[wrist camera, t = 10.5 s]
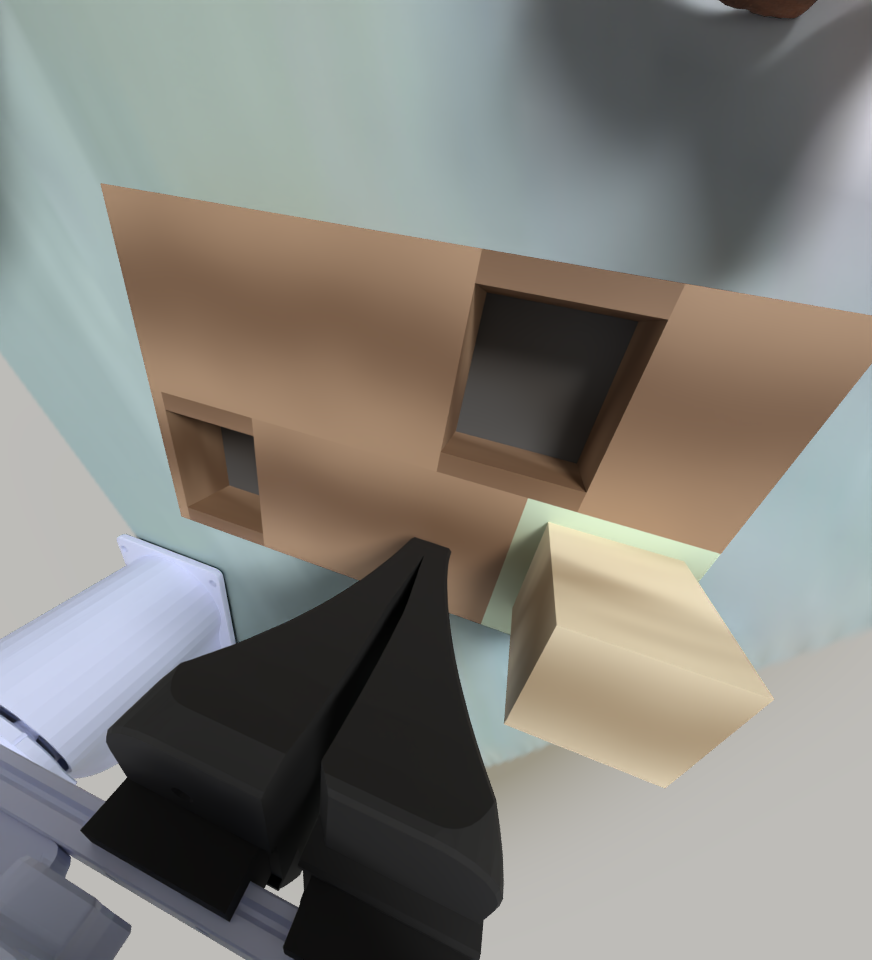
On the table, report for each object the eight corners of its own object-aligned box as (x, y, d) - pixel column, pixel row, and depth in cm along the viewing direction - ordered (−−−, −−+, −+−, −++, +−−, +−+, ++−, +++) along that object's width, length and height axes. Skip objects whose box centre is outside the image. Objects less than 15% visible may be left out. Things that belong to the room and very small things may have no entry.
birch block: (624, 646, 11) (665, 788, 8) (512, 608, 12) (504, 723, 8) (684, 561, 9) (774, 699, 6) (548, 521, 10) (556, 624, 7)
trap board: (609, 621, 14) (624, 675, 12) (226, 492, 17) (181, 516, 15) (807, 323, 8) (904, 321, 6) (182, 210, 11) (100, 183, 9)
